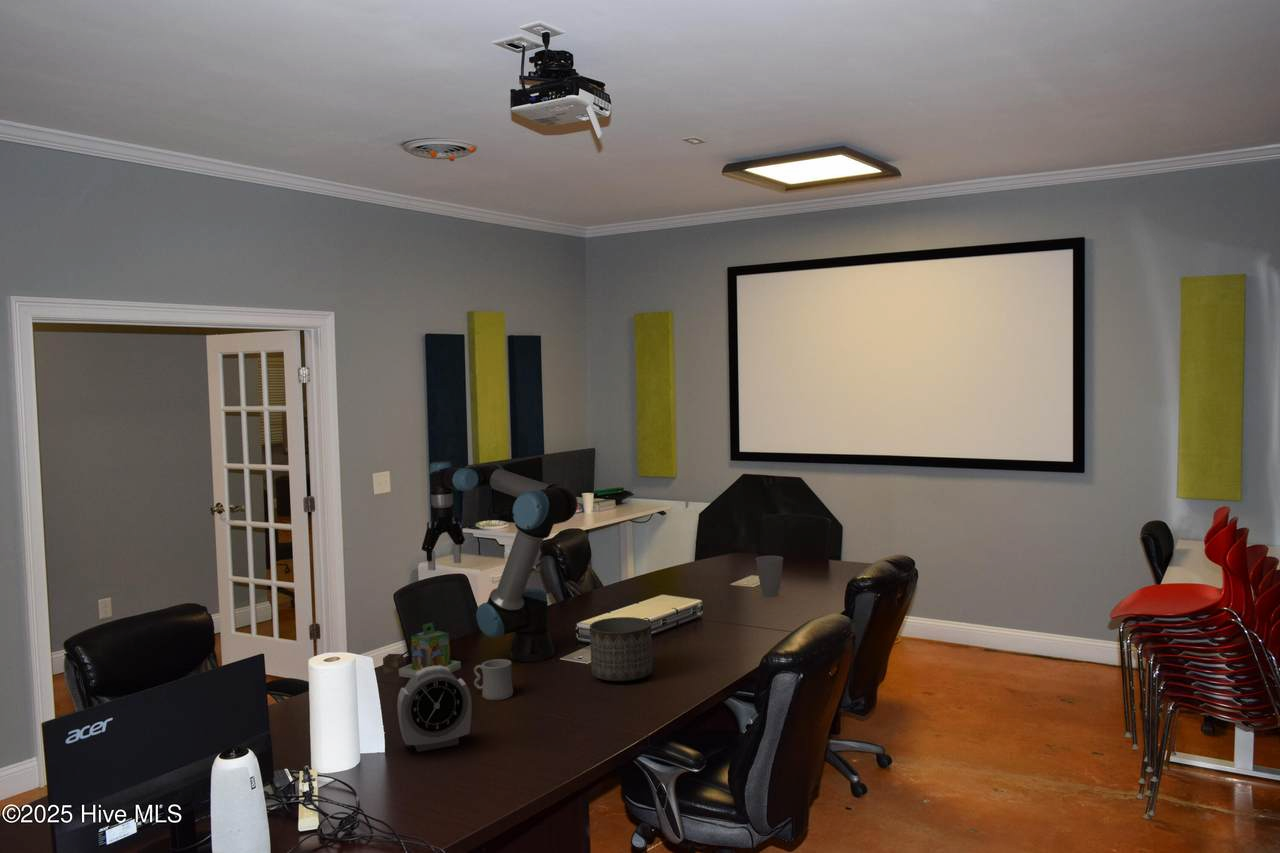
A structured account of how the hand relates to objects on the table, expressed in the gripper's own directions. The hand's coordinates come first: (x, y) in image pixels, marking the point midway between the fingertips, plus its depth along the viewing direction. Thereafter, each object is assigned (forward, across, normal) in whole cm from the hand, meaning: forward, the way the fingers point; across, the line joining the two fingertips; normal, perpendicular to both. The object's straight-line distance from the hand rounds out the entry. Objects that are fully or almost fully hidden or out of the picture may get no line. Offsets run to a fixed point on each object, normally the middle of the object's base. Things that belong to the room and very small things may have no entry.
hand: (444, 566), depth 322 cm
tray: (+31, +20, +9) cm, 38 cm away
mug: (+31, +31, +43) cm, 61 cm away
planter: (+31, 0, +70) cm, 77 cm away
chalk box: (+30, +19, +9) cm, 37 cm away
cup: (+31, -123, +74) cm, 147 cm away
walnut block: (+31, +23, -4) cm, 39 cm away
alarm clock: (+31, +68, +53) cm, 91 cm away
